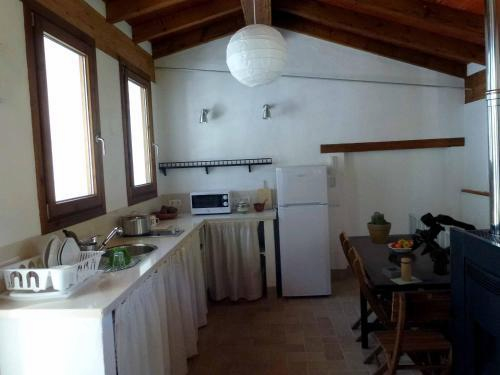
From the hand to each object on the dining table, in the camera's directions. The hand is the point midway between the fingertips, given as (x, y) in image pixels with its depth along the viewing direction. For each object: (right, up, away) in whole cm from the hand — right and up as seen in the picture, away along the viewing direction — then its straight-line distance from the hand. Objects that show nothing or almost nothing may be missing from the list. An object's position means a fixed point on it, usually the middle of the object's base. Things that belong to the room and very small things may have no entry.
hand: (416, 253), depth 221 cm
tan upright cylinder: (-8, -14, -7) cm, 17 cm away
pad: (-8, -15, -7) cm, 18 cm away
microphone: (-2, -12, +25) cm, 28 cm away
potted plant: (+8, -6, +87) cm, 88 cm away
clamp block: (-11, -14, +5) cm, 18 cm away
